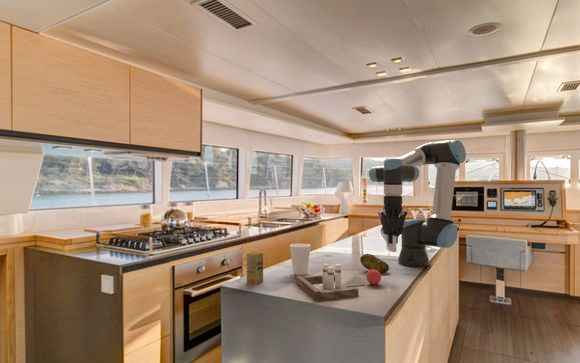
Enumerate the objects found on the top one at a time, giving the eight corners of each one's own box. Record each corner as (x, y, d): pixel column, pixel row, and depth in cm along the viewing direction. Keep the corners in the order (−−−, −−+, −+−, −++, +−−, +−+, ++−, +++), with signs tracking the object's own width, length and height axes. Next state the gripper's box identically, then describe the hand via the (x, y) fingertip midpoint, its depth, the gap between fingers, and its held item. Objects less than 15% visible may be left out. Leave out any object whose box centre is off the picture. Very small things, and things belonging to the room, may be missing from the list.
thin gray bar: (364, 284, 139) (364, 284, 139) (365, 285, 138) (365, 284, 138) (346, 286, 136) (346, 286, 136) (347, 287, 135) (347, 286, 135)
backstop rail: (333, 279, 146) (333, 272, 146) (358, 295, 125) (358, 287, 125) (296, 283, 141) (296, 276, 141) (315, 300, 120) (315, 291, 120)
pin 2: (332, 289, 133) (332, 266, 133) (335, 291, 130) (334, 267, 130) (326, 290, 132) (326, 266, 132) (329, 291, 129) (329, 268, 130)
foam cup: (313, 272, 160) (313, 244, 160) (306, 276, 151) (305, 247, 151) (295, 269, 164) (295, 243, 164) (286, 274, 155) (286, 246, 155)
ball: (376, 281, 143) (376, 267, 143) (384, 285, 137) (384, 270, 137) (363, 282, 141) (363, 268, 141) (371, 286, 136) (370, 271, 136)
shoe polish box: (263, 281, 144) (263, 253, 144) (256, 284, 140) (256, 255, 140) (253, 280, 146) (253, 252, 147) (246, 282, 142) (246, 254, 142)
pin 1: (327, 285, 137) (327, 263, 137) (329, 287, 135) (329, 265, 135) (321, 286, 137) (321, 264, 137) (324, 288, 134) (323, 265, 134)
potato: (381, 275, 152) (381, 258, 152) (357, 270, 161) (357, 254, 162) (391, 272, 158) (390, 255, 158) (367, 267, 167) (367, 251, 167)
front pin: (339, 286, 136) (339, 264, 136) (342, 288, 134) (342, 265, 134) (334, 287, 136) (333, 264, 136) (336, 289, 133) (336, 266, 133)
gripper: (400, 195, 148) (400, 249, 148) (374, 195, 144) (374, 250, 144) (411, 195, 141) (411, 252, 140) (384, 195, 137) (384, 253, 137)
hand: (392, 251), depth 142 cm, fingers closed
